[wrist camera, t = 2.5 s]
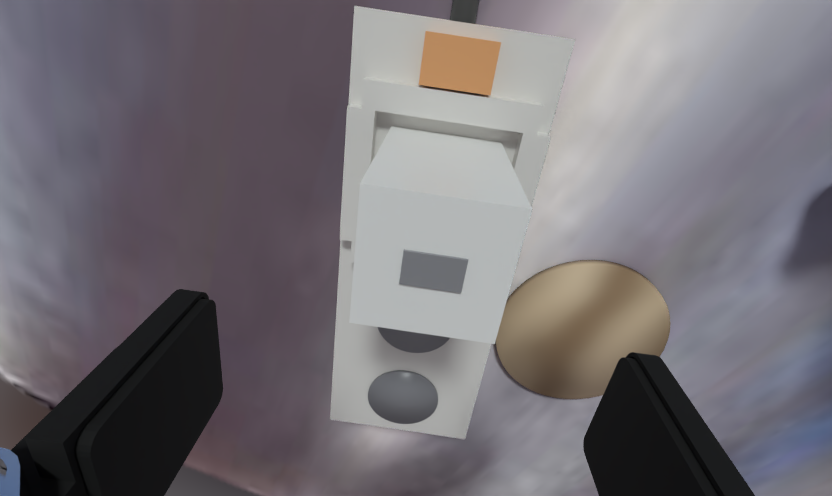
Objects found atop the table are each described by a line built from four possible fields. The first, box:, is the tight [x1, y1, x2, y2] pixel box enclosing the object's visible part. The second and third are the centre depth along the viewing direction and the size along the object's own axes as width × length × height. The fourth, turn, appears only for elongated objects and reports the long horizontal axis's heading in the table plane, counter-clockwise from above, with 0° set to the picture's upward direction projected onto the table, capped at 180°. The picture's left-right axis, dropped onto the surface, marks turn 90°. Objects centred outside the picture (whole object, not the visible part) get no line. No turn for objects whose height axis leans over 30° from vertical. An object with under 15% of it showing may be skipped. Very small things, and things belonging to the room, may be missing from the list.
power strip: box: [330, 0, 575, 439], centre depth 22 cm, size 34×9×5 cm, turn 172°
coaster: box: [496, 260, 670, 399], centre depth 29 cm, size 11×11×1 cm
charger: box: [349, 126, 532, 344], centre depth 17 cm, size 5×5×8 cm
